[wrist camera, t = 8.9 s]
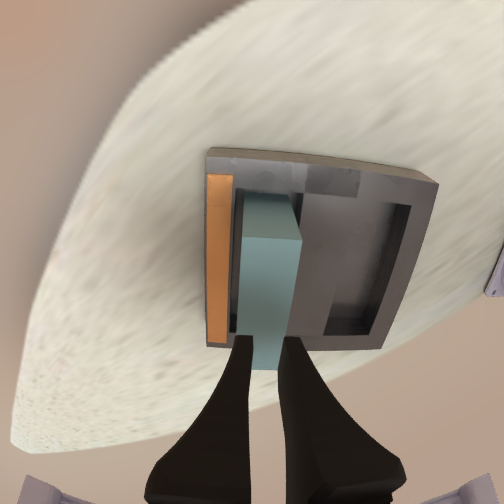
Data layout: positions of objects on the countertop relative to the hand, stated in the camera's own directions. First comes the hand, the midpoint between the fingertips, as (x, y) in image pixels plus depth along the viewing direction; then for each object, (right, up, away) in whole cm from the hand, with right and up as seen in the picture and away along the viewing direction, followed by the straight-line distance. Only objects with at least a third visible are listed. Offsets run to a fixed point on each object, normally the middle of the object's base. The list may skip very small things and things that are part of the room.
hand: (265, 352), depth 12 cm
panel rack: (+3, +4, +7) cm, 9 cm away
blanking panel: (0, +4, +7) cm, 8 cm away
